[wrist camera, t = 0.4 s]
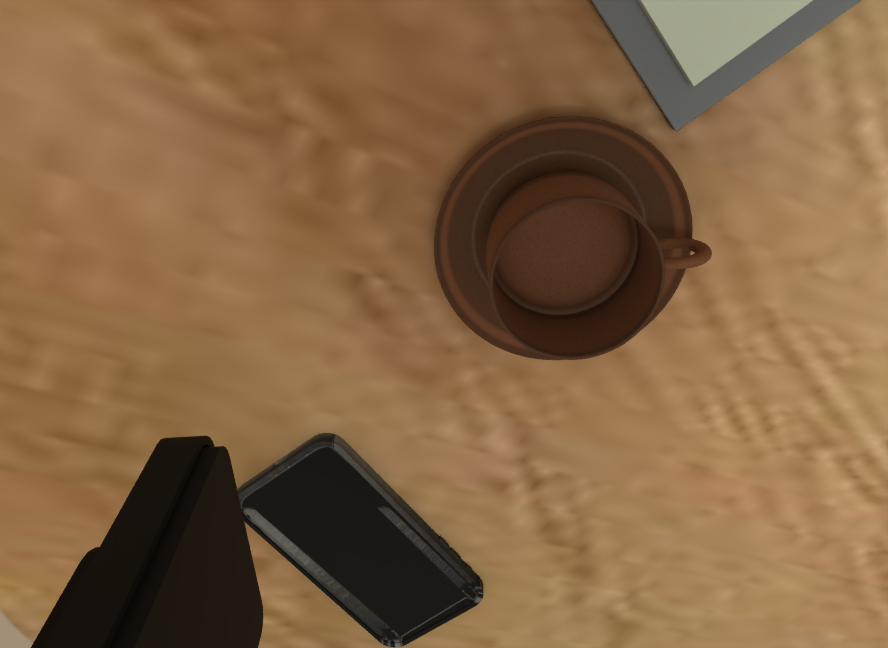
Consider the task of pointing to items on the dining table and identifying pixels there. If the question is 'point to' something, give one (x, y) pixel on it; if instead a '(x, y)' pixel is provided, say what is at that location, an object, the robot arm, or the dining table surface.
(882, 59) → the dining table surface
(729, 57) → the cover board
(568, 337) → the cup and saucer
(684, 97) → the rubber mat
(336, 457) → the phone
